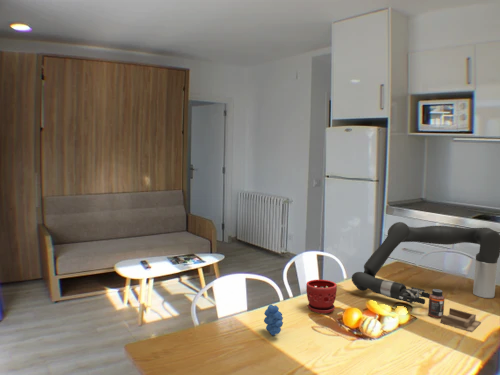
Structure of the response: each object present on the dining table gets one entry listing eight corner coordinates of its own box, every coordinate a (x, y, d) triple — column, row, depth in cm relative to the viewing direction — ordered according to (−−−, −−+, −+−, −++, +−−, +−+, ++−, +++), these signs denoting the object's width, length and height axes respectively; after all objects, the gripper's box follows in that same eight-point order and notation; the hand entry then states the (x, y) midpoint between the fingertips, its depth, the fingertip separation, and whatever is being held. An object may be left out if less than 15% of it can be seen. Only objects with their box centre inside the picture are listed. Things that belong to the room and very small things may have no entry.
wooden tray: (450, 314, 178) (450, 307, 178) (480, 323, 170) (481, 316, 170) (440, 322, 170) (440, 315, 170) (471, 332, 162) (472, 324, 161)
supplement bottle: (444, 319, 173) (446, 293, 172) (429, 317, 175) (431, 292, 173) (441, 313, 179) (443, 288, 178) (426, 312, 180) (428, 287, 179)
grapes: (290, 339, 153) (291, 308, 151) (275, 342, 149) (275, 311, 148) (274, 326, 163) (275, 297, 162) (259, 329, 160) (260, 300, 159)
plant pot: (340, 308, 183) (341, 282, 182) (328, 318, 172) (330, 290, 171) (312, 301, 190) (313, 276, 189) (300, 311, 179) (301, 284, 178)
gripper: (386, 285, 184) (422, 294, 173) (400, 278, 195) (435, 287, 183) (385, 301, 185) (421, 312, 174) (399, 293, 195) (434, 303, 184)
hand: (428, 299), depth 179 cm, fingers open, 8 cm apart
